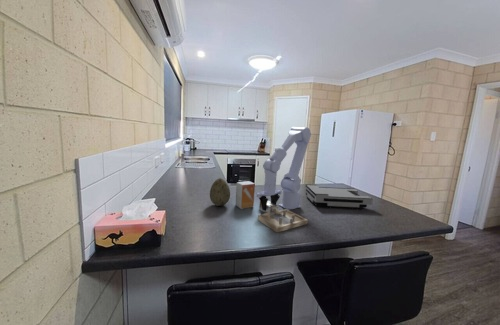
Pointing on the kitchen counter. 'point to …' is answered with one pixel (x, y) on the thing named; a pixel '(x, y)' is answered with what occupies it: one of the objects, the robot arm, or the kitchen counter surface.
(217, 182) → the decorative egg
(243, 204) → the small box
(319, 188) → the game console
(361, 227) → the kitchen counter surface
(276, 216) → the tray
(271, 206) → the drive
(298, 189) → the robot arm
